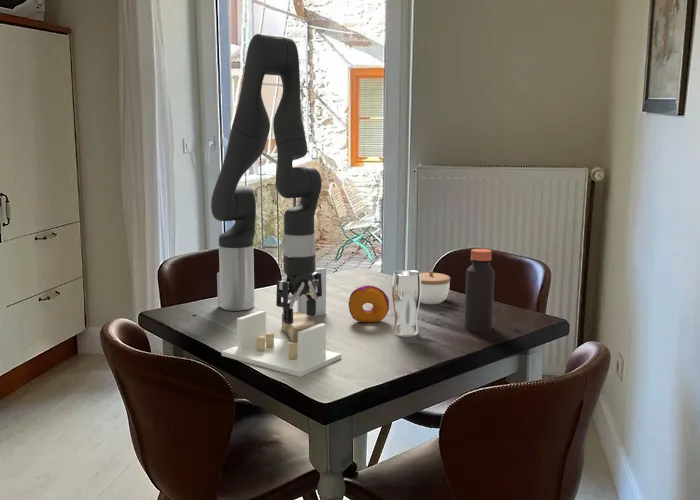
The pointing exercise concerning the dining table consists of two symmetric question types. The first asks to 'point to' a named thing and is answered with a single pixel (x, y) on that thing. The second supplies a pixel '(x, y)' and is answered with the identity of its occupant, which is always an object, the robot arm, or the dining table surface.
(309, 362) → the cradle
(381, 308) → the donut
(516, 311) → the dining table surface
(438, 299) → the lidded jar
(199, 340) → the dining table surface
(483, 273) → the bottle
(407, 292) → the beer glass
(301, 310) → the external hard drive
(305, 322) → the plank
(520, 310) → the dining table surface
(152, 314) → the dining table surface
